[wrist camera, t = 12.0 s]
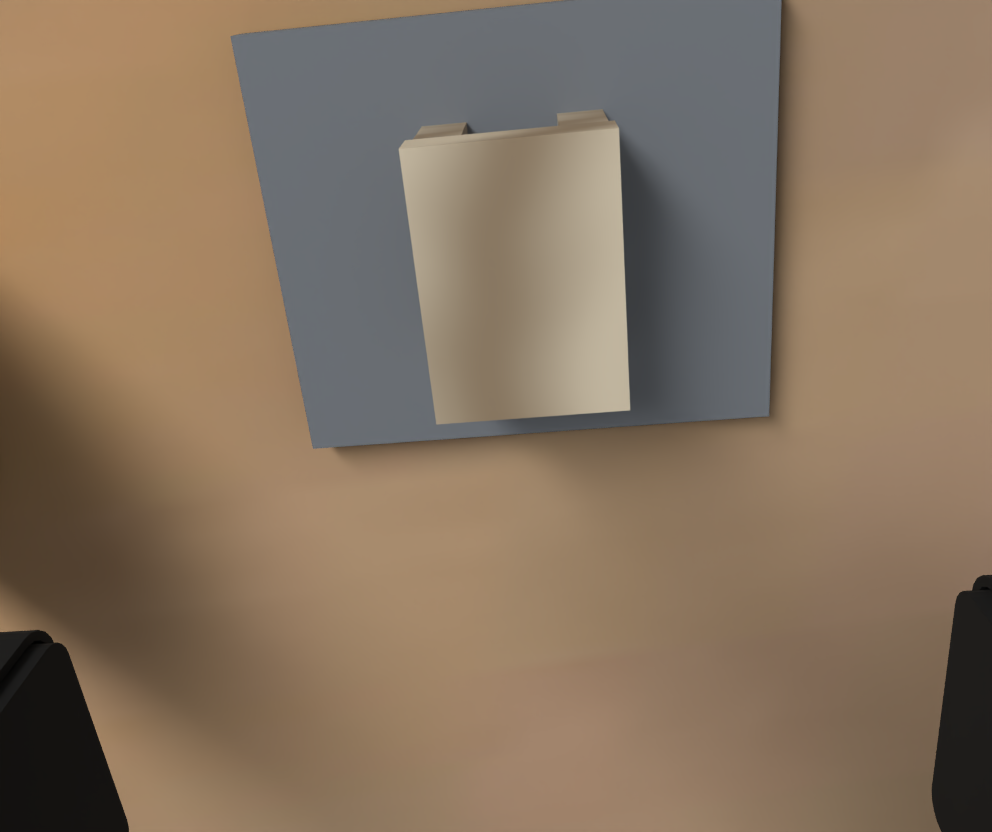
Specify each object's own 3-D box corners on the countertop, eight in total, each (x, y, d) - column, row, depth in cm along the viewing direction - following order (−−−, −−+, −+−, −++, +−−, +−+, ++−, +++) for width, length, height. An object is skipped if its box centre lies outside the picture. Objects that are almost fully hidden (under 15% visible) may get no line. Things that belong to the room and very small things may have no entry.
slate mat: (761, 402, 29) (769, 416, 28) (319, 434, 30) (313, 448, 29) (772, -22, 24) (782, -21, 23) (241, 33, 25) (230, 36, 24)
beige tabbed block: (606, 104, 25) (618, 128, 21) (617, 353, 28) (630, 410, 24) (417, 122, 25) (398, 148, 22) (448, 365, 28) (436, 424, 24)
